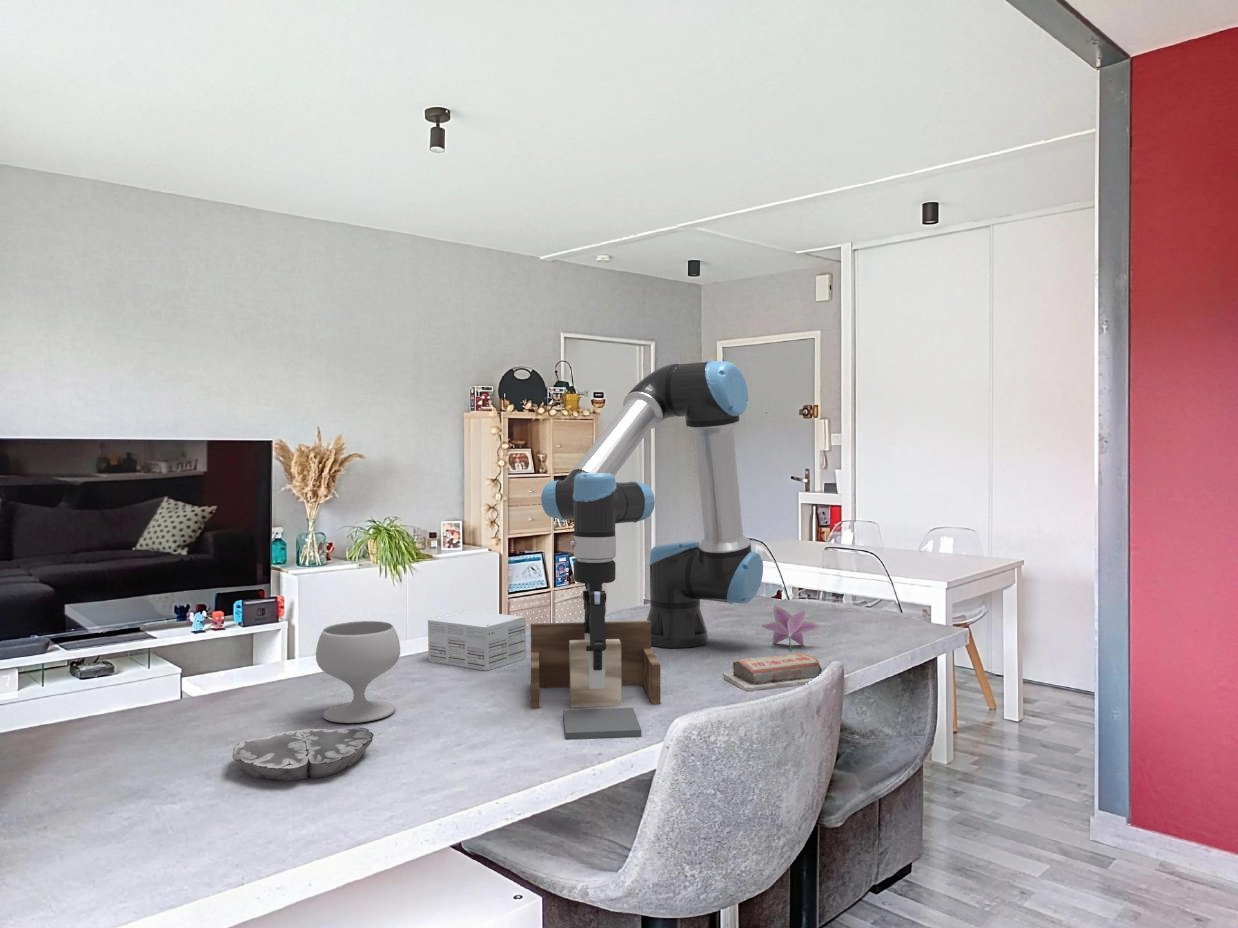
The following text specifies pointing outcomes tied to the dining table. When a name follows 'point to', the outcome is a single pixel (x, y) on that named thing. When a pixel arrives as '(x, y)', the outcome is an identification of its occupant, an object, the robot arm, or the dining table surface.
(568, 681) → the walnut cubby
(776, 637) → the lily
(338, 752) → the brain slice
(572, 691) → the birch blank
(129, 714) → the dining table surface
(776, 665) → the packaged product
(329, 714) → the chalice
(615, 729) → the charcoal mat
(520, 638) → the supplement box
